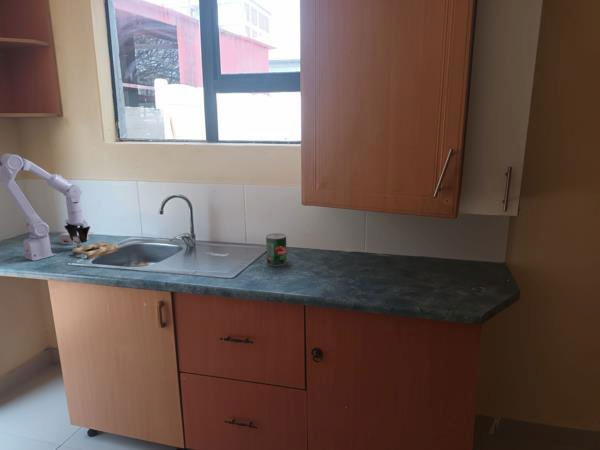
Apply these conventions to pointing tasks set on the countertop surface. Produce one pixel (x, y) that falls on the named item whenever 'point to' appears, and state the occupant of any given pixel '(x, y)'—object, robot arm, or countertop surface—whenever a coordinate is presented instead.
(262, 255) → the countertop surface
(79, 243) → the peg
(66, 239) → the charger
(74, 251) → the keyhole plate
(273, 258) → the canned tomato
